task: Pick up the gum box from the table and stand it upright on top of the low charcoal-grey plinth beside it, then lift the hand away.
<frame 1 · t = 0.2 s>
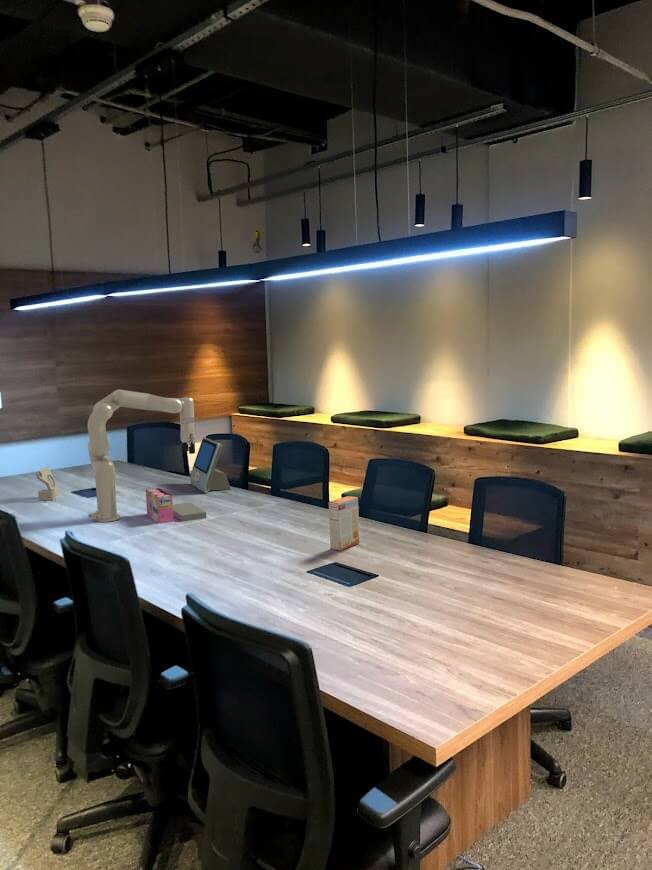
hand: (188, 452, 385), 31 cm above the table, fingers open, 9 cm apart
touchscreen device: (210, 487, 444), on the table
phone holder: (51, 499, 423), on the table
cracker box: (344, 546, 310), on the table
base plinth: (186, 514, 376), on the table
gum box: (160, 518, 369), on the table
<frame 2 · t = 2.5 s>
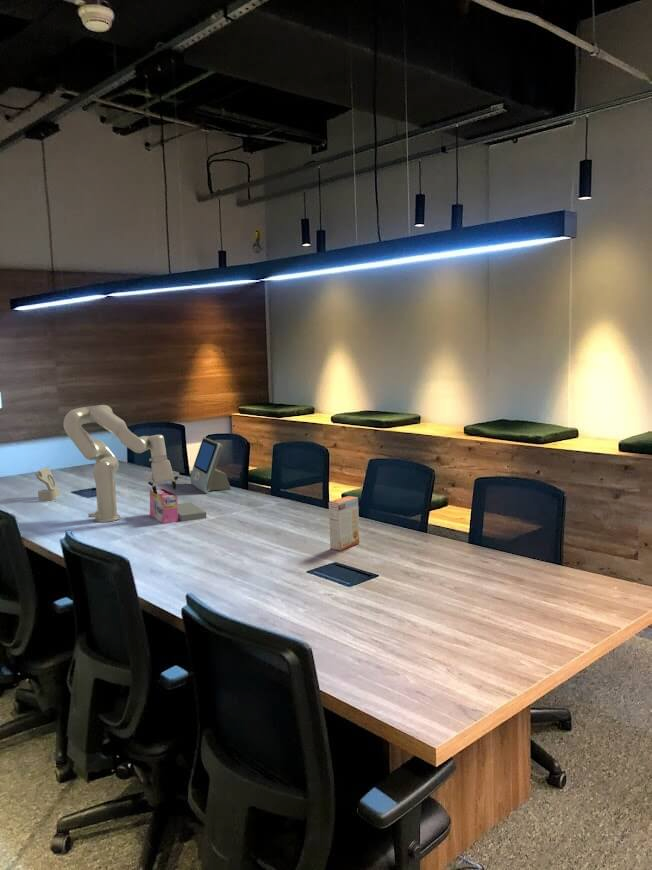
hand: (165, 491, 367), 14 cm above the table, fingers open, 9 cm apart
gum box: (163, 518, 368), on the table, touching gripper
everything else where it was.
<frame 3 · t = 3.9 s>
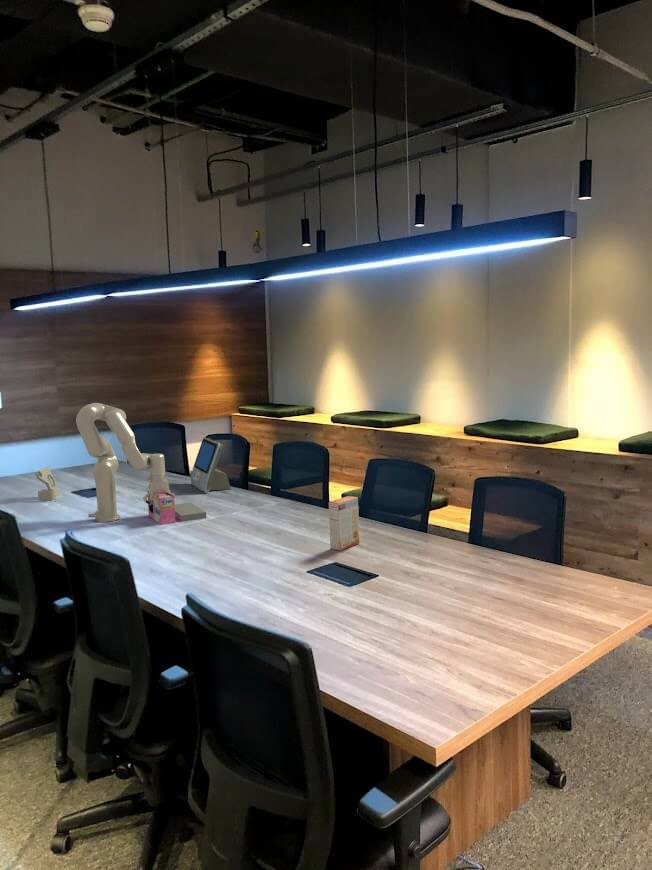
hand: (160, 511, 369), 4 cm above the table, fingers closed on gum box, 8 cm apart
gum box: (161, 519, 367), on the table, touching gripper
everything else where it was.
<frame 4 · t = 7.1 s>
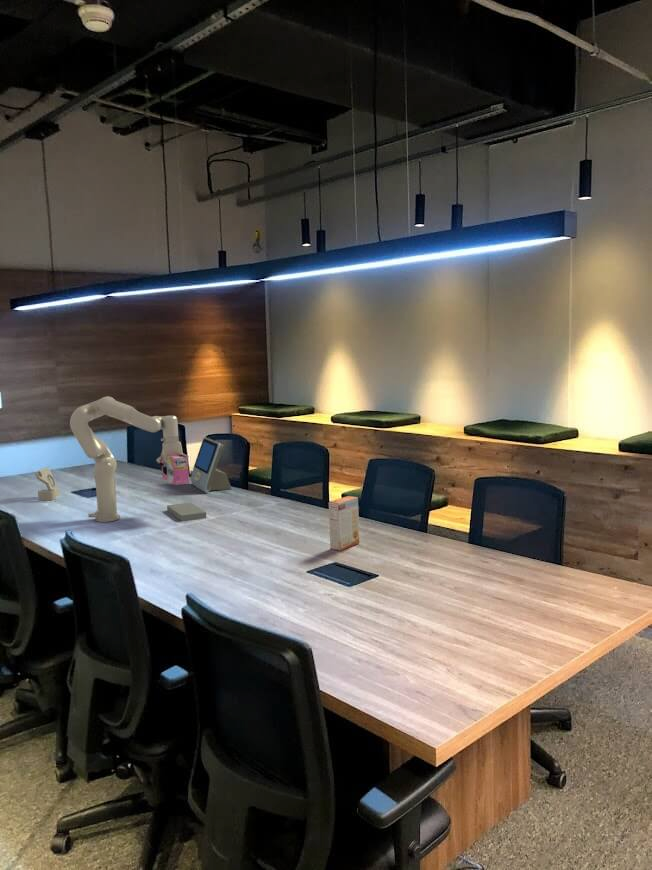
hand: (173, 473, 370), 23 cm above the table, fingers closed on gum box, 8 cm apart
gum box: (175, 481, 368), point 19 cm above the table, touching gripper
everything else where it was.
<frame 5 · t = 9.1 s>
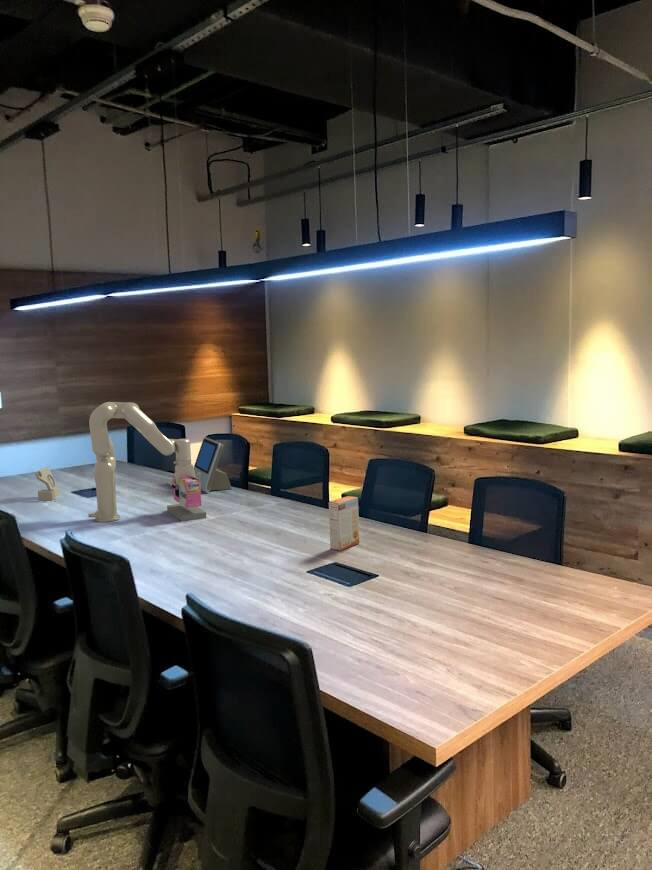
hand: (185, 495, 374), 10 cm above the table, fingers closed on gum box, 8 cm apart
gum box: (187, 503, 372), point 6 cm above the table, touching gripper
everything else where it was.
when the fingers open (8 cm above the table, at t = 10.6 s): gum box drops 1 cm, resting on base plinth.
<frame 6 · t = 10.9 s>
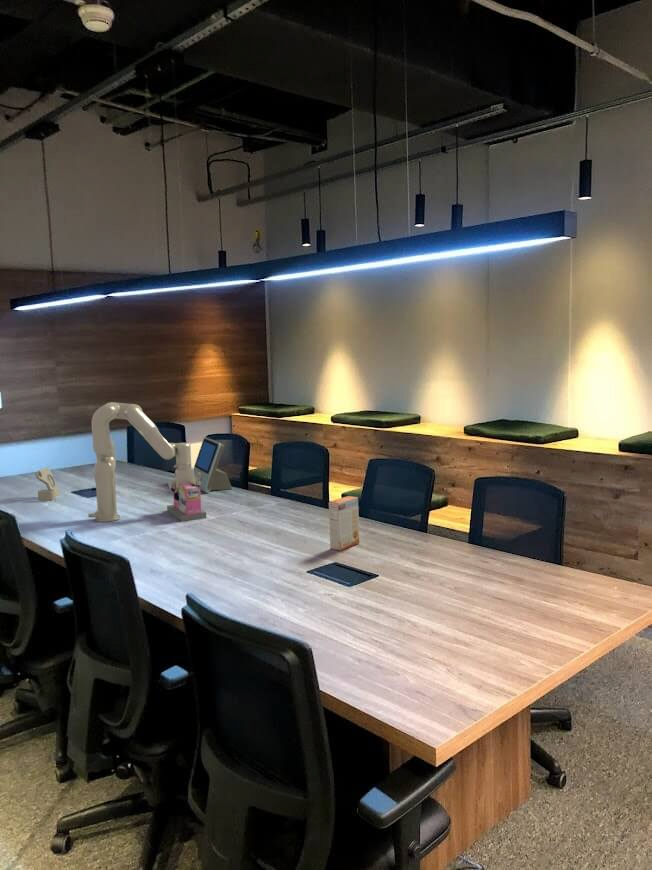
hand: (185, 498, 375), 8 cm above the table, fingers open, 9 cm apart
gum box: (187, 510, 373), point 3 cm above the table, touching base plinth
everything else where it was.
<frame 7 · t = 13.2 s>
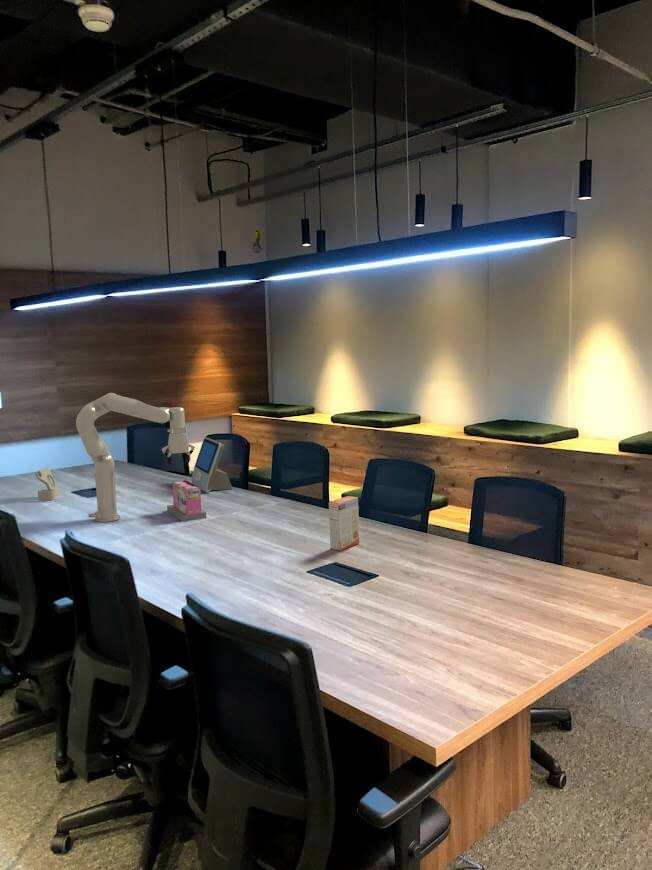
hand: (178, 463, 375), 27 cm above the table, fingers open, 9 cm apart
nothing on the table moved.
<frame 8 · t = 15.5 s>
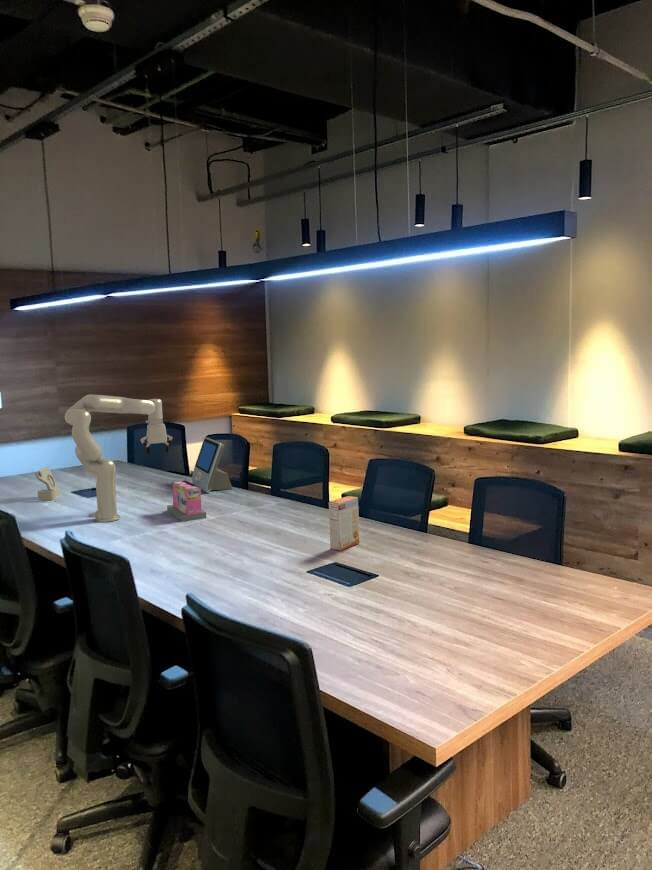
hand: (157, 453, 387), 30 cm above the table, fingers open, 9 cm apart
at the end: gum box inside the target area on the base plinth (2.6 cm from its centre), point 2.8 cm above the base plinth's base; gum box tilted 0°; the gripper is holding nothing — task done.
